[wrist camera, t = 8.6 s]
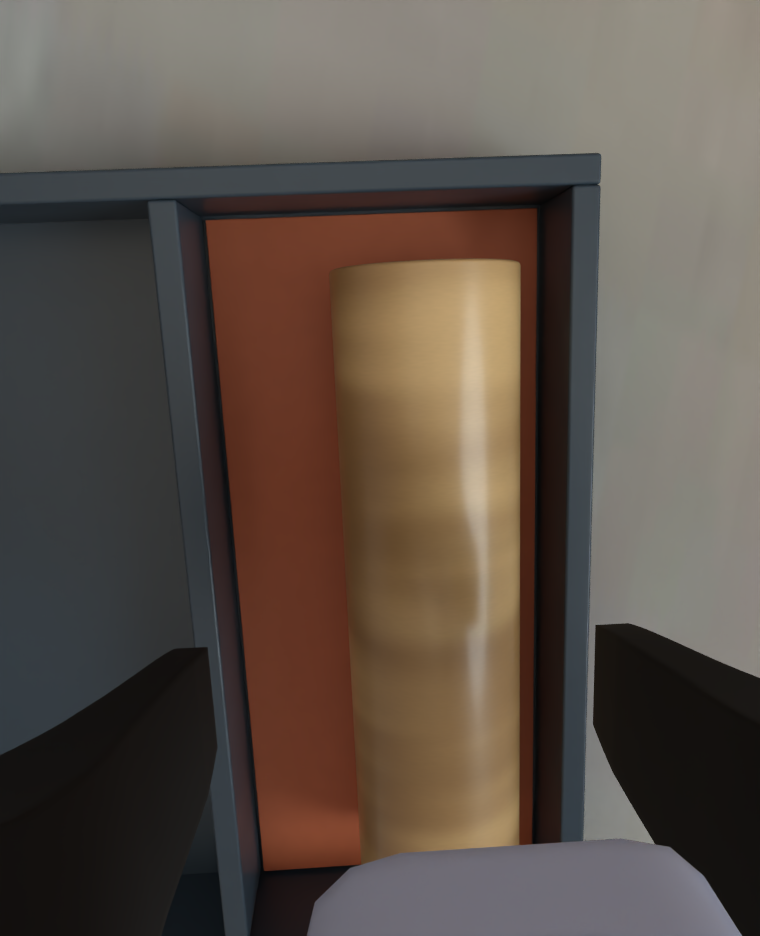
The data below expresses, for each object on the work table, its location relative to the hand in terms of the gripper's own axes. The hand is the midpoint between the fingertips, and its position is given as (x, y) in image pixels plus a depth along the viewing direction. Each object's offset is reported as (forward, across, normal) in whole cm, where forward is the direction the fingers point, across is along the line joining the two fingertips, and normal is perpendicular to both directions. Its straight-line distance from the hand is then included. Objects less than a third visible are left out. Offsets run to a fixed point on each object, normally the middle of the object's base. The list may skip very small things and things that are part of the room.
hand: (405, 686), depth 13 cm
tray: (+6, +4, 0) cm, 8 cm away
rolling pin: (+5, 0, 0) cm, 5 cm away
